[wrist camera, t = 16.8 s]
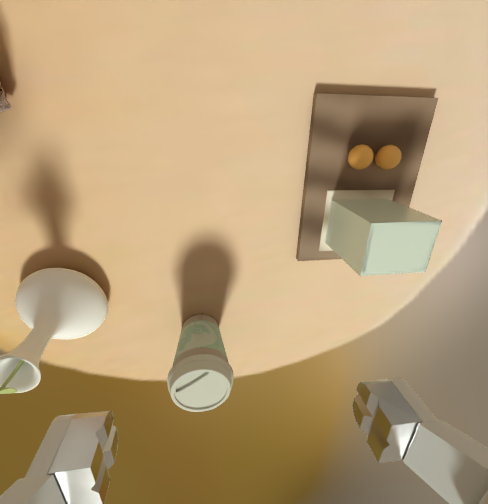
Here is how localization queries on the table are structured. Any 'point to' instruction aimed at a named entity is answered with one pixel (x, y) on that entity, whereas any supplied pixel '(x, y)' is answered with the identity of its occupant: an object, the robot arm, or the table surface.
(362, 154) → the amber marble
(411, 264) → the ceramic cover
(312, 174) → the walnut board
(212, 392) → the coffee cup
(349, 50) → the table surface
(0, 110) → the food item
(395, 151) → the amber marble
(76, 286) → the flower in vase
